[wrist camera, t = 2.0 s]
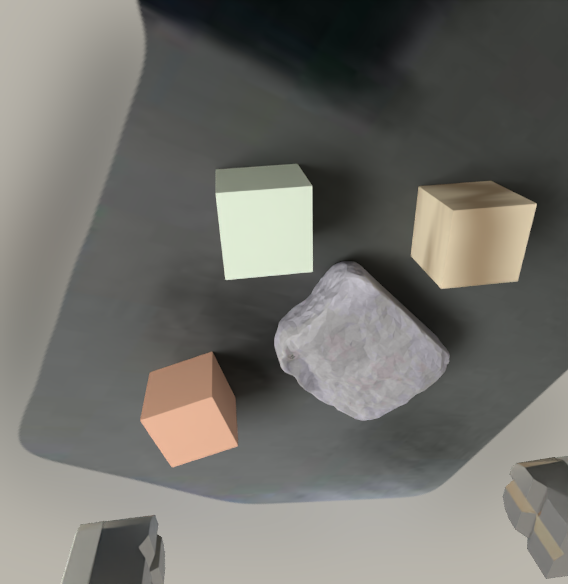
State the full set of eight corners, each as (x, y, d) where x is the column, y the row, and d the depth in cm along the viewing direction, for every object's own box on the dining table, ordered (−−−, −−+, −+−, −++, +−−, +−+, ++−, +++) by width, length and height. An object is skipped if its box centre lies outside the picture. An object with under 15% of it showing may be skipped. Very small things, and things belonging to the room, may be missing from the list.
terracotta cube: (212, 350, 33) (211, 396, 29) (235, 397, 36) (238, 445, 32) (149, 371, 34) (140, 420, 29) (177, 416, 36) (172, 467, 32)
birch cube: (490, 180, 30) (536, 203, 25) (477, 249, 32) (517, 281, 28) (418, 185, 29) (453, 210, 25) (410, 255, 32) (441, 288, 27)
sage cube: (297, 163, 28) (312, 185, 23) (298, 238, 30) (312, 271, 26) (215, 169, 27) (215, 193, 23) (224, 245, 29) (225, 280, 25)
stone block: (354, 391, 40) (450, 332, 35) (360, 437, 36) (468, 377, 32) (255, 318, 35) (351, 240, 31) (249, 362, 31) (357, 280, 27)
